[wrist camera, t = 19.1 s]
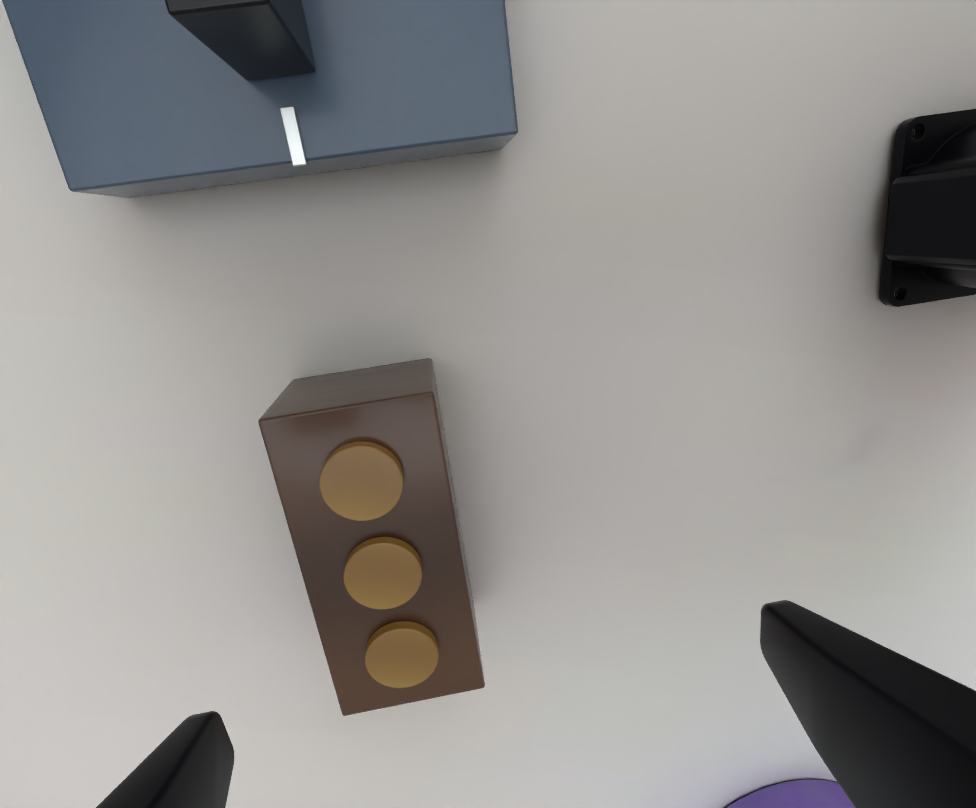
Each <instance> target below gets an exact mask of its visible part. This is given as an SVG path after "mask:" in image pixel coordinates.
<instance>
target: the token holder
mask: <svg viewBox="0 0 976 808" xmlns="http://www.w3.org/2000/svg"><path fill="white" fill-rule="evenodd" d="M258 423H259V426H260V430H261V433H262V436H263V440H264V443H265V447H266V450H267V454H268V457H269V461H270V464H271V468H272V471H273V475H274V478H275V482H276V485H277V489H278V492H279V496H280V499H281V503H282V506H283V510H284V513H285V516H286V520H287V523H288V527H289V530H290V534H291V537H292V541H293V544H294V548H295V551H296V555H297V558H298V562H299V565H300V569H301V572H302V576H303V579H304V583H305V586H306V590H307V593H308V596H309V600H310V603H311V607H312V610H313V614H314V617H315V621H316V624H317V628H318V631H319V635H320V638H321V642H322V645H323V649H324V652H325V656H326V659H327V663H328V666H329V670H330V673H331V676H332V680H333V683H334V687H335V690H336V694H337V697H338V701H339V704H340V708H341V711H342V714H343V715H344V716H346V715H351V714H356V713H361V712H366V711H371V710H376V709H381V708H386V707H391V706H396V705H401V704H406V703H411V702H416V701H421V700H425V699H430V698H435V697H440V696H445V695H450V694H455V693H460V692H465V691H470V690H475V689H480V688H483V687H484V685H485V683H484V675H483V668H482V661H481V654H480V647H479V639H478V632H477V625H476V618H475V611H474V604H473V598H472V592H471V586H470V580H469V575H468V569H467V563H466V557H465V551H464V545H463V540H462V534H461V528H460V522H459V516H458V510H457V504H456V499H455V493H454V487H453V481H452V475H451V469H450V464H449V458H448V452H447V446H446V440H445V434H444V428H443V423H442V417H441V411H440V405H439V399H438V393H437V388H436V382H435V376H434V370H433V364H432V360H431V359H429V358H428V359H422V360H415V361H409V362H403V363H396V364H390V365H384V366H377V367H371V368H365V369H358V370H352V371H345V372H339V373H333V374H326V375H320V376H314V377H307V378H301V379H294V380H293V381H292V382H291V383H290V384H289V385H288V387H287V388H286V389H285V390H284V391H283V392H282V393H281V395H280V396H279V397H278V398H277V399H276V400H275V402H274V403H273V404H272V405H271V406H270V407H269V409H268V410H267V411H266V412H265V413H264V414H263V416H262V417H261V418H260V419H259V422H258Z"/></svg>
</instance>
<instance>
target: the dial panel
mask: <svg viewBox="0 0 976 808" xmlns="http://www.w3.org/2000/svg"><path fill="white" fill-rule="evenodd" d="M2 1H3V4H4V7H5V10H6V12H7V15H8V18H9V21H10V24H11V26H12V29H13V32H14V35H15V38H16V41H17V43H18V46H19V49H20V52H21V55H22V58H23V60H24V63H25V66H26V69H27V72H28V74H29V77H30V80H31V83H32V86H33V89H34V91H35V94H36V97H37V100H38V103H39V105H40V108H41V111H42V114H43V117H44V120H45V122H46V125H47V128H48V131H49V134H50V137H51V139H52V142H53V145H54V148H55V151H56V153H57V156H58V159H59V162H60V165H61V168H62V170H63V173H64V176H65V179H66V182H67V185H68V187H69V189H70V191H73V192H81V193H90V194H99V195H108V196H117V197H126V198H132V197H140V196H147V195H155V194H163V193H170V192H178V191H186V190H193V189H201V188H208V187H216V186H224V185H231V184H239V183H246V182H254V181H262V180H269V179H277V178H284V177H292V176H300V175H307V174H315V173H323V172H330V171H338V170H345V169H353V168H361V167H368V166H376V165H383V164H391V163H399V162H406V161H414V160H421V159H429V158H437V157H444V156H452V155H460V154H467V153H475V152H482V151H490V150H498V149H502V148H504V146H505V145H506V144H507V143H508V142H509V141H510V140H511V139H512V138H513V137H514V136H515V135H516V134H517V133H518V125H517V115H516V106H515V96H514V87H513V77H512V67H511V58H510V48H509V38H508V29H507V19H506V10H505V0H301V2H302V6H303V11H304V16H305V20H306V25H307V30H308V34H309V39H310V44H311V49H312V53H313V58H314V63H315V67H316V70H315V72H311V73H303V74H295V75H287V76H280V77H272V78H264V79H256V80H245V79H244V78H243V77H242V76H241V75H240V74H238V73H237V72H236V71H235V70H234V69H233V68H231V67H230V66H229V65H228V64H227V63H226V62H224V61H223V60H222V59H221V58H220V57H219V56H217V55H216V54H215V53H214V52H213V51H212V50H210V49H209V48H208V47H207V46H206V45H205V44H203V43H202V42H201V41H200V40H199V39H198V38H196V37H195V36H194V35H193V34H192V33H190V32H189V31H188V30H187V29H186V28H185V27H183V26H182V25H181V24H180V23H179V22H178V21H176V20H175V19H174V18H173V17H172V16H171V15H170V14H169V13H168V11H167V7H166V4H165V0H2Z"/></svg>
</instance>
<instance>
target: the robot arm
mask: <svg viewBox="0 0 976 808" xmlns="http://www.w3.org/2000/svg"><path fill="white" fill-rule="evenodd" d="M913 128H914V129H915V135H914V138H913V139H912V137H911V132H912V129H913ZM897 288H898V293H897V295H896V296H895V297H894V293H895V291H896V289H897ZM975 294H976V109H972V110H964V111H957V112H949V113H942V114H934V115H927V116H920V117H915V118H911V119H908V120H905V121H904V122H902V123H901V124H900V125H899V127H898V129H897V130H896V134H895V140H894V151H893V161H892V171H891V181H890V192H889V202H888V212H887V223H886V233H885V243H884V253H883V264H882V274H881V284H880V300H881V302H882V303H883V304H885V305H889V306H897V307H900V306H906V305H912V304H919V303H925V302H931V301H937V300H944V299H950V298H956V297H962V296H969V295H975ZM760 644H761V649H762V653H763V655H764V658H765V660H766V661H767V663H768V665H769V667H770V669H771V670H772V672H773V674H774V676H775V678H776V679H777V681H778V683H779V685H780V686H781V688H782V690H783V692H784V694H785V695H786V697H787V699H788V701H789V703H790V704H791V706H792V708H793V710H794V712H795V713H796V715H797V717H798V719H799V721H800V722H801V724H802V726H803V728H804V730H805V731H806V733H807V735H808V737H809V738H810V740H811V742H812V743H813V745H814V747H815V749H816V750H817V752H818V753H819V755H820V756H821V758H822V759H823V761H824V762H825V764H826V765H827V767H828V768H829V770H830V771H831V773H832V774H833V776H834V777H835V779H836V780H837V782H838V783H839V785H840V786H841V787H842V789H843V790H844V792H845V793H846V795H847V796H848V798H849V799H850V801H851V802H852V804H853V805H854V806H855V808H976V691H975V690H973V689H971V688H969V687H967V686H965V685H962V684H960V683H958V682H956V681H954V680H952V679H950V678H948V677H946V676H944V675H942V674H940V673H938V672H936V671H934V670H932V669H929V668H927V667H925V666H923V665H921V664H919V663H917V662H915V661H913V660H911V659H909V658H907V657H905V656H903V655H901V654H898V653H896V652H894V651H892V650H890V649H888V648H886V647H884V646H882V645H880V644H878V643H876V642H874V641H872V640H870V639H868V638H865V637H863V636H861V635H859V634H857V633H855V632H853V631H851V630H849V629H847V628H845V627H843V626H841V625H839V624H837V623H834V622H832V621H830V620H828V619H826V618H824V617H822V616H820V615H818V614H816V613H814V612H812V611H810V610H808V609H806V608H804V607H801V606H799V605H797V604H795V603H793V602H791V601H787V600H783V601H777V602H772V603H767V604H765V605H764V606H763V607H762V609H761V633H760ZM233 765H234V750H233V746H232V743H231V741H230V738H229V736H228V733H227V731H226V728H225V726H224V723H223V721H222V718H221V716H220V714H218V713H217V712H215V711H210V712H205V713H200V714H195V715H192V716H189V717H188V718H187V719H185V720H184V721H183V722H182V723H181V724H180V725H179V726H178V727H177V728H176V729H175V730H174V731H173V732H172V733H171V734H170V735H169V736H168V737H167V738H166V739H165V740H164V741H163V742H162V743H161V744H160V745H159V746H158V747H157V748H156V749H155V750H154V751H153V752H152V753H151V754H150V755H149V756H148V757H147V758H146V759H145V760H144V761H143V762H142V763H141V764H140V765H139V766H138V767H137V768H136V769H135V770H134V771H133V772H132V773H131V774H130V775H129V776H128V777H127V778H126V779H125V780H124V781H123V782H121V783H120V784H119V785H118V786H117V787H116V788H115V789H114V790H113V791H112V792H111V793H110V794H109V795H108V796H107V797H106V798H105V799H104V800H103V801H102V802H101V803H100V804H99V805H98V806H97V807H96V808H225V806H226V801H227V796H228V791H229V786H230V781H231V775H232V770H233Z"/></svg>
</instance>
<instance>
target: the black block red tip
mask: <svg viewBox="0 0 976 808" xmlns="http://www.w3.org/2000/svg"><path fill="white" fill-rule="evenodd" d="M165 4H166V7H167V11H168V13H169V14H170V15H171V16H172V17H173V18H174V19H175V20H176V21H178V22H179V23H180V24H181V25H182V26H183V27H185V28H186V29H187V30H188V31H189V32H190V33H192V34H193V35H194V36H195V37H196V38H198V39H199V40H200V41H201V42H202V43H203V44H205V45H206V46H207V47H208V48H209V49H210V50H212V51H213V52H214V53H215V54H216V55H217V56H219V57H220V58H221V59H222V60H223V61H224V62H226V63H227V64H228V65H229V66H230V67H231V68H233V69H234V70H235V71H236V72H237V73H238V74H240V75H241V76H242V77H243V78H244V79H245V80H256V79H264V78H272V77H280V76H287V75H295V74H303V73H311V72H315V70H316V67H315V63H314V58H313V53H312V49H311V44H310V39H309V34H308V30H307V25H306V20H305V16H304V11H303V6H302V2H301V0H165Z"/></svg>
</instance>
